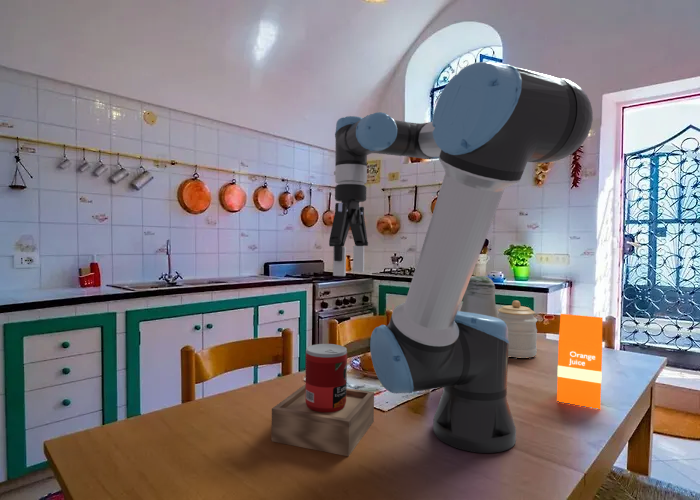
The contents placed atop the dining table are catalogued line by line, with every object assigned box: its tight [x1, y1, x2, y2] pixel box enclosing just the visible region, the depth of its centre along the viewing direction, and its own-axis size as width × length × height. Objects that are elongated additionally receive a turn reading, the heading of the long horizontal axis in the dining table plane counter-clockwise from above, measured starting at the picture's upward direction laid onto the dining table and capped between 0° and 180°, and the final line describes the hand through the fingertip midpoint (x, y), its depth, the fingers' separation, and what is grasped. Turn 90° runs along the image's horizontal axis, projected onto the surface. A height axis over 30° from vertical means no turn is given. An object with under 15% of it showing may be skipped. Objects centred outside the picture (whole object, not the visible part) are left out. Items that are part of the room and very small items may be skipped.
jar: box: [497, 300, 538, 358], centre depth 140 cm, size 13×13×18 cm
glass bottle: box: [459, 275, 499, 318], centre depth 109 cm, size 10×10×28 cm
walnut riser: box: [270, 383, 375, 457], centre depth 83 cm, size 15×15×6 cm
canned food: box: [305, 343, 348, 413], centre depth 82 cm, size 8×8×11 cm
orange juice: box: [556, 313, 603, 410], centre depth 100 cm, size 8×9×20 cm
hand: (349, 273), depth 103 cm, fingers open, 13 cm apart
